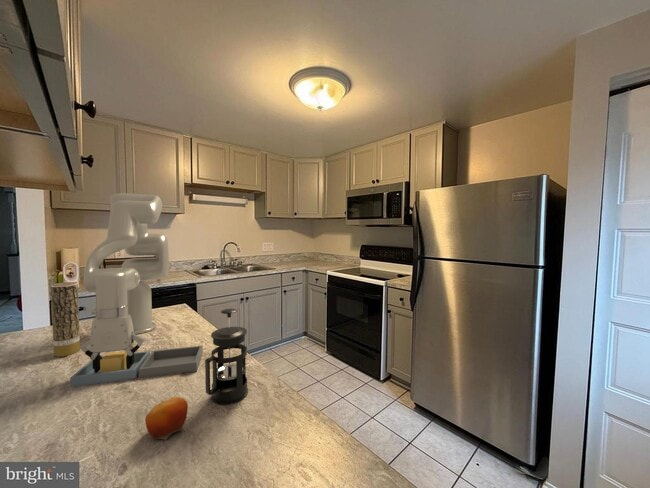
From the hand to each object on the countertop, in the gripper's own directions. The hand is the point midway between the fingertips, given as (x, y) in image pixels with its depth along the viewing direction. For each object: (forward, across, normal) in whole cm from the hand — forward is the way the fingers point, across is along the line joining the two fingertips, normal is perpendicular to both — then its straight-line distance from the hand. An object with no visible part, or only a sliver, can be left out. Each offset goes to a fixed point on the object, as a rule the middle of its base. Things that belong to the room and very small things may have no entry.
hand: (114, 368), depth 84 cm
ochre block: (+1, 0, 0) cm, 1 cm away
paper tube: (+2, -22, +20) cm, 30 cm away
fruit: (+2, +22, -32) cm, 39 cm away
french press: (+2, +34, -22) cm, 41 cm away
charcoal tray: (+1, +16, 0) cm, 16 cm away
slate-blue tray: (+1, 0, 0) cm, 1 cm away
